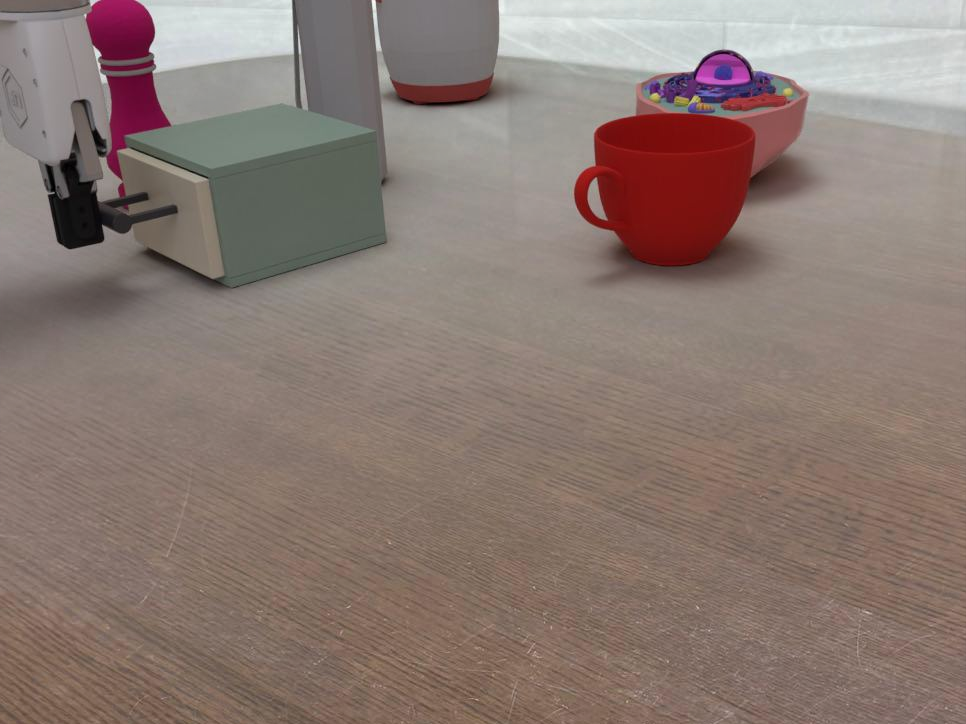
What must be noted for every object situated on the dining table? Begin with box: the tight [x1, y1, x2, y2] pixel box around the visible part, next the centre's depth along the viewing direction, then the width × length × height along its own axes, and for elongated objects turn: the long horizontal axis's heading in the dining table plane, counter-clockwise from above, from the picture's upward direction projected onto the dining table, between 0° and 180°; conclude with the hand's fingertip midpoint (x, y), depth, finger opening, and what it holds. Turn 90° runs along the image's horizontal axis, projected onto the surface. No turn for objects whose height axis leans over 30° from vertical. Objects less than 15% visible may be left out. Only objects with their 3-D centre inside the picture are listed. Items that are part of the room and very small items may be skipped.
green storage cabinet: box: [124, 102, 387, 289], centre depth 104 cm, size 16×15×10 cm
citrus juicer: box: [374, 0, 500, 105], centre depth 148 cm, size 16×17×20 cm
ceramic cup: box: [573, 113, 755, 267], centre depth 98 cm, size 13×17×10 cm
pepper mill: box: [85, 0, 173, 210], centre depth 112 cm, size 7×7×20 cm
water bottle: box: [291, 0, 388, 182], centre depth 115 cm, size 9×8×25 cm
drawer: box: [98, 148, 225, 280], centre depth 101 cm, size 20×13×8 cm, turn 132°
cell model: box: [635, 48, 810, 179], centre depth 118 cm, size 17×20×11 cm
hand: (81, 243), depth 95 cm, fingers closed
